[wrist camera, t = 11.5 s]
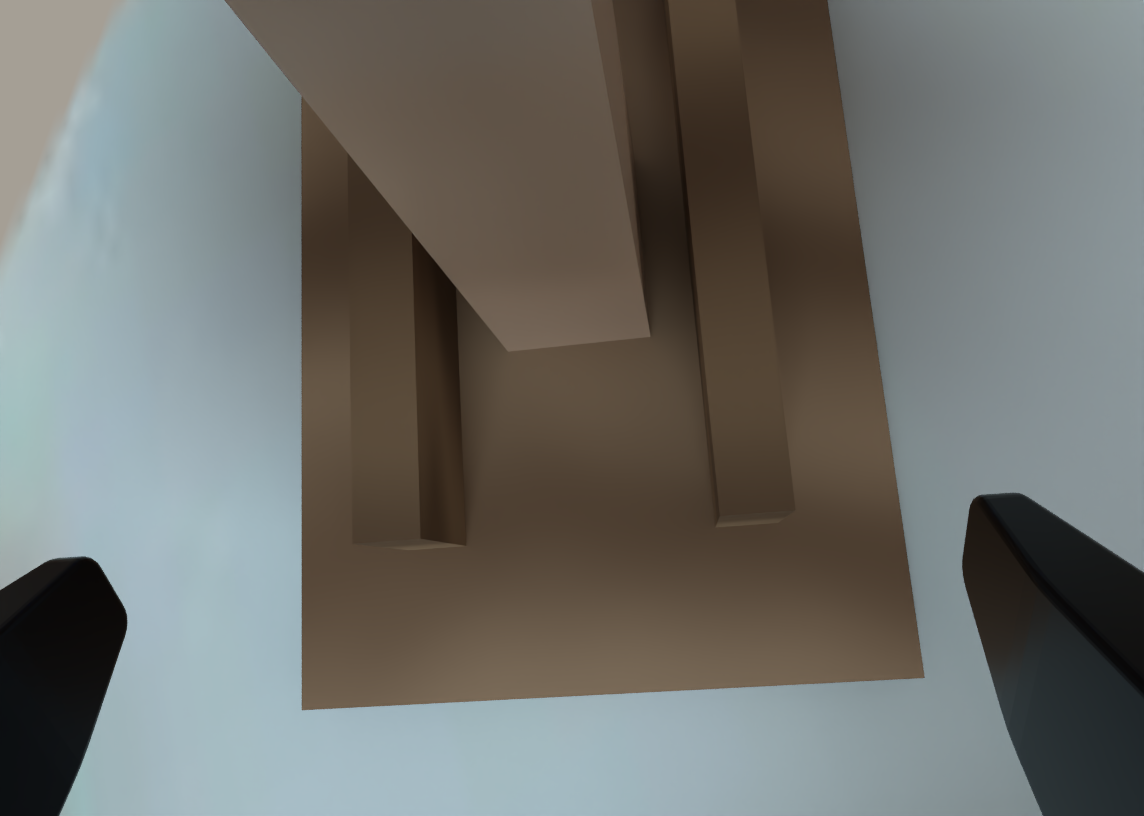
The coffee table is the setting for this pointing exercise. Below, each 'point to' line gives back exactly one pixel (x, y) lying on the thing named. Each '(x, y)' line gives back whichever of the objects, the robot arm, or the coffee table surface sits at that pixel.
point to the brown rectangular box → (486, 146)
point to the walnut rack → (614, 416)
